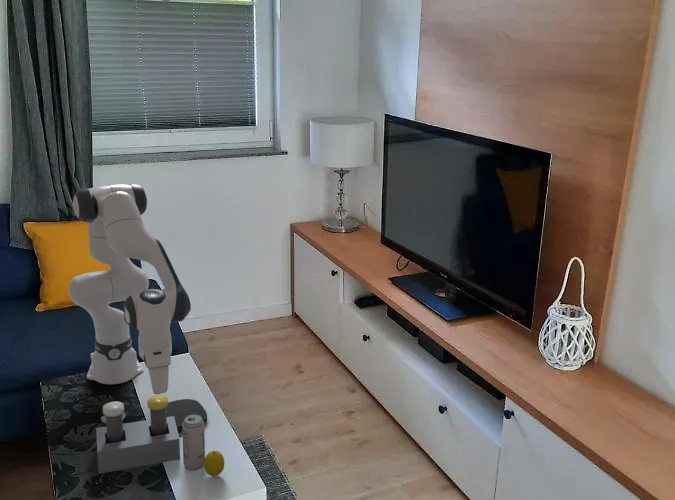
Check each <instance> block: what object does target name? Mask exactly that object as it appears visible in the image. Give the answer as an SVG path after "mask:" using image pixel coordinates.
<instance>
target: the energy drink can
mask: <svg viewBox="0 0 675 500" xmlns="http://www.w3.org/2000/svg"><path fill="white" fill-rule="evenodd" d="M205 432H206V431H205V425H204V421H203V420H202V417H201V416H200V415H197V414H192V415H188V416H186V417H185V419H184V422H183V424H182V432H181V433H182V454H183V455H182V456H183V459H182V461H183V465H184V467H185V468H186V469H187V470H190V471H196V470H200V469H201V468H202V467H204V460H205V457H206V450H205V449H206V443H205V442H206V441H205V439H206V437H205Z"/></svg>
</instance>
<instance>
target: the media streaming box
mask: <svg viewBox="0 0 675 500" xmlns="http://www.w3.org/2000/svg"><path fill="white" fill-rule="evenodd" d="M192 414H197V415H200V416H201V417H202V420H203V421H204V426H205V425H206V424H207V423H208V412H207V411H206V409H205V408H204V407H203V405H202V404H201V402H199V401H198V400H196V399H193V398H182V399H176V400H172V401H168V406H167V407H166V417H171V416H174V418H175V422H176V426H177V431H178V434H179V433H182V424H183V422H184V419H185V417H186V416H188V415H192Z"/></svg>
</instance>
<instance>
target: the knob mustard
mask: <svg viewBox="0 0 675 500" xmlns="http://www.w3.org/2000/svg"><path fill="white" fill-rule="evenodd" d="M168 402H169V398H168V397H167V396H165V395H160V394H156V395H154V396H150V397H149V398H148V399H147V408H148V409H149V414H150V415H149V416H150V420H151V436H157V435H164V434H167V420H166V407H167V406H168Z"/></svg>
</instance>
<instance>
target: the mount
mask: <svg viewBox="0 0 675 500" xmlns="http://www.w3.org/2000/svg"><path fill="white" fill-rule="evenodd" d="M166 420H167V434H164V435H157V436H151V419H146V420H140V421H139V420H138V421H134V422H133V421H132V422H126V423H123V435H124V441H120V442H114V443H108V442H107V429H106V426H101V427H95V430H96V431H95V434H96V451H97V452H96V453H97V465H98V474H99V475H101V474H104V473H111V472H117V471H123V470H127V469H128V468H129V469H134V468H133V467H135V468H139V466H140V467H145V465H146V466H150V465H156V464H163V463H167V462H175V461H180V460H181V447H180V444H181V443H180V442H181V441H180V435H179V433H178V431H177V426H176V422H175V418H174V416H171V417H166ZM129 469H128V470H129Z"/></svg>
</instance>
